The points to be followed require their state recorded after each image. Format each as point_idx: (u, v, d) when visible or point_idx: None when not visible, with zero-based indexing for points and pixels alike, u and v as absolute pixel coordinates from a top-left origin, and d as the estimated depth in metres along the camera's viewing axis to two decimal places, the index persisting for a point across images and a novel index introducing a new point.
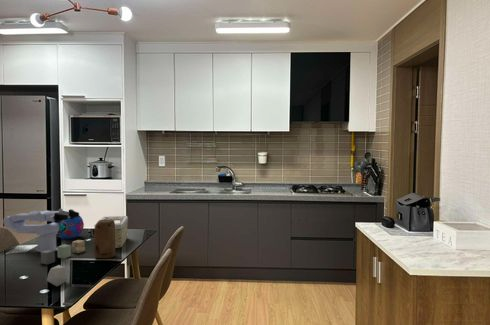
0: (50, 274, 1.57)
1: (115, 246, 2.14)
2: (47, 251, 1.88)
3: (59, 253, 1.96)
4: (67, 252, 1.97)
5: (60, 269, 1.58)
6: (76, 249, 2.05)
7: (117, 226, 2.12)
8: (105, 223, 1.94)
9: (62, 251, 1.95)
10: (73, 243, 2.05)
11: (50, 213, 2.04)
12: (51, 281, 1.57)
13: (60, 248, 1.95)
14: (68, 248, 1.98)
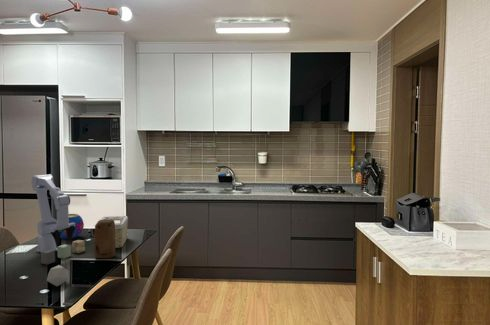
0: (50, 274, 1.57)
1: (115, 246, 2.14)
2: (47, 251, 1.88)
3: (59, 253, 1.96)
4: (67, 252, 1.97)
5: (60, 269, 1.58)
6: (76, 249, 2.05)
7: (117, 226, 2.12)
8: (105, 223, 1.94)
9: (62, 251, 1.95)
10: (73, 243, 2.05)
11: (60, 216, 1.94)
12: (51, 281, 1.57)
13: (60, 248, 1.95)
14: (68, 248, 1.98)
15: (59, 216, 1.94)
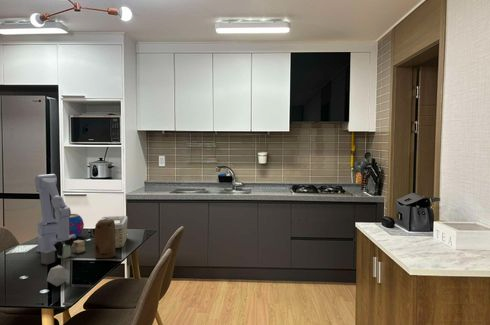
0: (50, 274, 1.57)
1: (116, 246, 2.14)
2: (47, 251, 1.88)
3: None
4: (67, 252, 1.97)
5: (60, 269, 1.58)
6: (76, 249, 2.05)
7: (118, 226, 2.12)
8: (105, 223, 1.94)
9: (62, 251, 1.95)
10: (73, 243, 2.05)
11: (60, 229, 1.94)
12: (51, 281, 1.57)
13: None
14: (68, 248, 1.98)
15: (59, 228, 1.94)
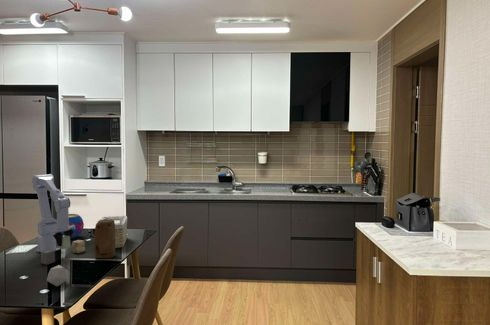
0: (50, 274, 1.57)
1: (117, 246, 2.14)
2: (47, 251, 1.88)
3: None
4: (67, 243, 1.97)
5: (60, 269, 1.58)
6: (76, 249, 2.05)
7: (119, 226, 2.12)
8: (105, 223, 1.94)
9: (62, 241, 1.95)
10: (73, 243, 2.05)
11: (60, 219, 1.94)
12: (51, 281, 1.57)
13: None
14: (68, 239, 1.97)
15: (59, 219, 1.94)
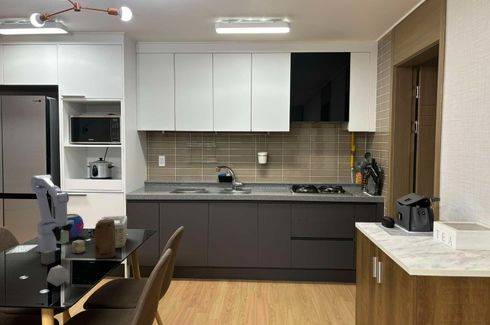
0: (50, 274, 1.57)
1: (117, 246, 2.14)
2: (47, 251, 1.88)
3: None
4: (65, 237, 1.97)
5: (60, 269, 1.58)
6: (76, 249, 2.05)
7: (119, 226, 2.12)
8: (105, 223, 1.94)
9: None
10: (73, 243, 2.05)
11: (59, 214, 1.94)
12: (51, 281, 1.57)
13: None
14: (66, 233, 1.98)
15: (57, 213, 1.94)
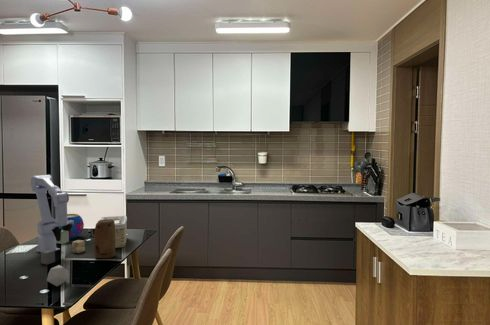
0: (50, 274, 1.57)
1: (118, 246, 2.14)
2: (47, 251, 1.88)
3: None
4: (65, 237, 1.97)
5: (60, 269, 1.58)
6: (76, 249, 2.05)
7: (120, 226, 2.13)
8: (105, 223, 1.94)
9: None
10: (73, 243, 2.05)
11: (59, 214, 1.94)
12: (51, 281, 1.57)
13: None
14: (66, 233, 1.98)
15: (57, 213, 1.94)
